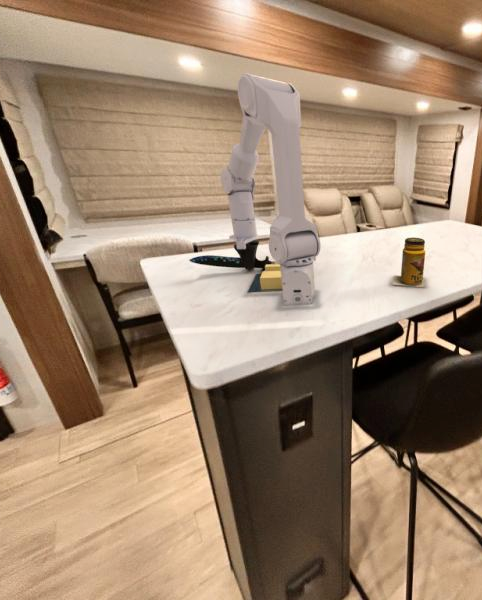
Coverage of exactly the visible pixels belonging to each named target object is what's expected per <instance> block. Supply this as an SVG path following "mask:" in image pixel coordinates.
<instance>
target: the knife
mask: <svg viewBox="0 0 482 600" xmlns="http://www.w3.org/2000/svg"><path fill="white" fill-rule="evenodd" d="M269 259H270V258H269V255H266V256H265V258H264V259H263V260H260V259H258V258H257V254H256V255H255V256H254V269H261V272H260V273H262V272H263V271H265V266H266V265H269V264H279V263H277V262H276V261H275V260H272V261H271V260H269ZM188 261H189V262H191V263H193V264H197V265H203V266H211V267H220V268H232V269H233V268H234V269H235V268H236V269H245V267H244V265H243V262H242V260H241V258H240V256H239V257H235V256H223V255H214V254H213V255H211V254H208V255H199V256H196V257H191V258H190V259H189V260H188Z"/></svg>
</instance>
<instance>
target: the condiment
mask: <svg viewBox="0 0 482 600" xmlns="http://www.w3.org/2000/svg"><path fill="white" fill-rule="evenodd" d="M425 244H426V241H425V239H424V238H422V237H421V238H420V237H406V238H405V239H404V247H403V249H402V257H401V270H400V271H401V272H400V275H393V279H392V286H403V287H404V286H405V287H414V288H425V282H424V271H425V262H426V261H425V259H426V249H425Z"/></svg>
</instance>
